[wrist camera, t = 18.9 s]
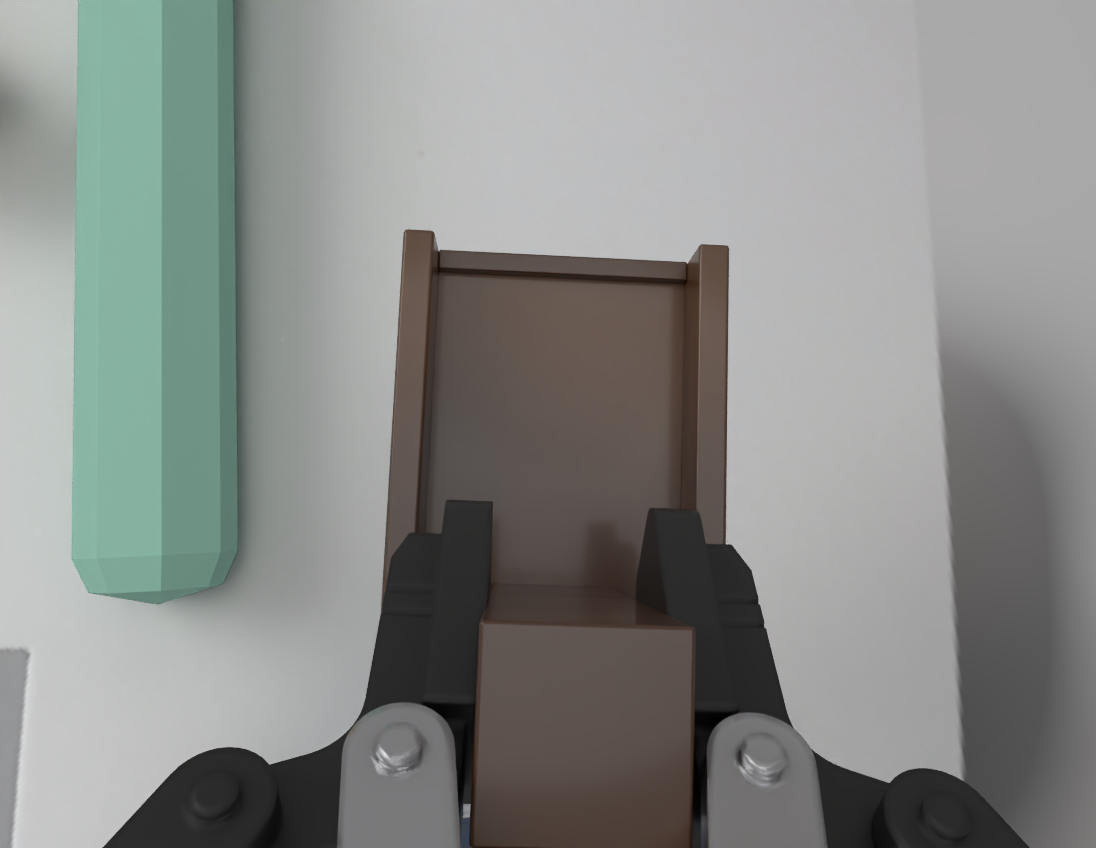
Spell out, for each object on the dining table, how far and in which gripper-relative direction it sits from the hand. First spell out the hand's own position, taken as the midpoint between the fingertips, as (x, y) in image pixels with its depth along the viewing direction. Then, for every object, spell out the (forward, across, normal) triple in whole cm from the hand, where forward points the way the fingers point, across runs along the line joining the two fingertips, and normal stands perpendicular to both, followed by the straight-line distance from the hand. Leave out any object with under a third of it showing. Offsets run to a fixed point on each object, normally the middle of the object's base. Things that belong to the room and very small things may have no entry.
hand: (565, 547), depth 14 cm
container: (+20, +13, +6) cm, 25 cm away
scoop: (+4, 0, +3) cm, 5 cm away
